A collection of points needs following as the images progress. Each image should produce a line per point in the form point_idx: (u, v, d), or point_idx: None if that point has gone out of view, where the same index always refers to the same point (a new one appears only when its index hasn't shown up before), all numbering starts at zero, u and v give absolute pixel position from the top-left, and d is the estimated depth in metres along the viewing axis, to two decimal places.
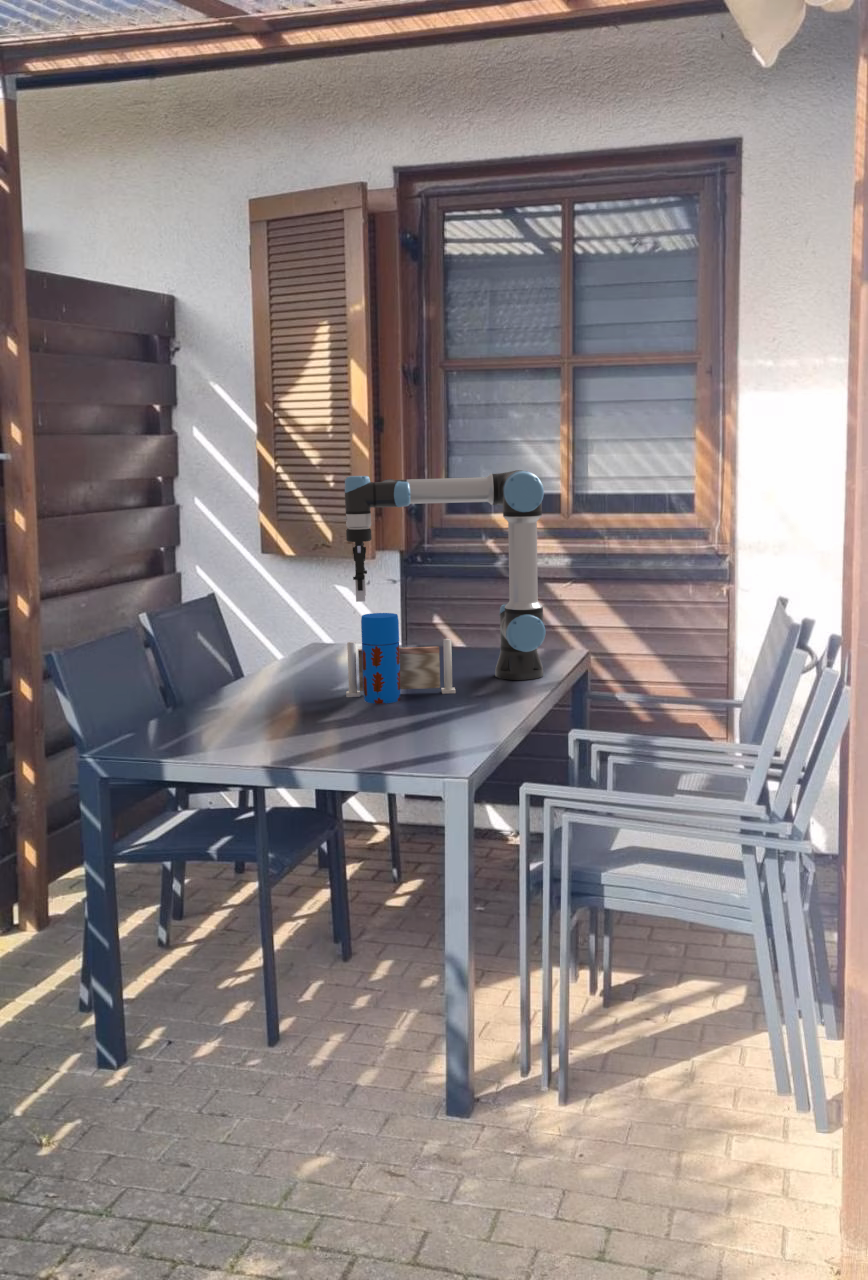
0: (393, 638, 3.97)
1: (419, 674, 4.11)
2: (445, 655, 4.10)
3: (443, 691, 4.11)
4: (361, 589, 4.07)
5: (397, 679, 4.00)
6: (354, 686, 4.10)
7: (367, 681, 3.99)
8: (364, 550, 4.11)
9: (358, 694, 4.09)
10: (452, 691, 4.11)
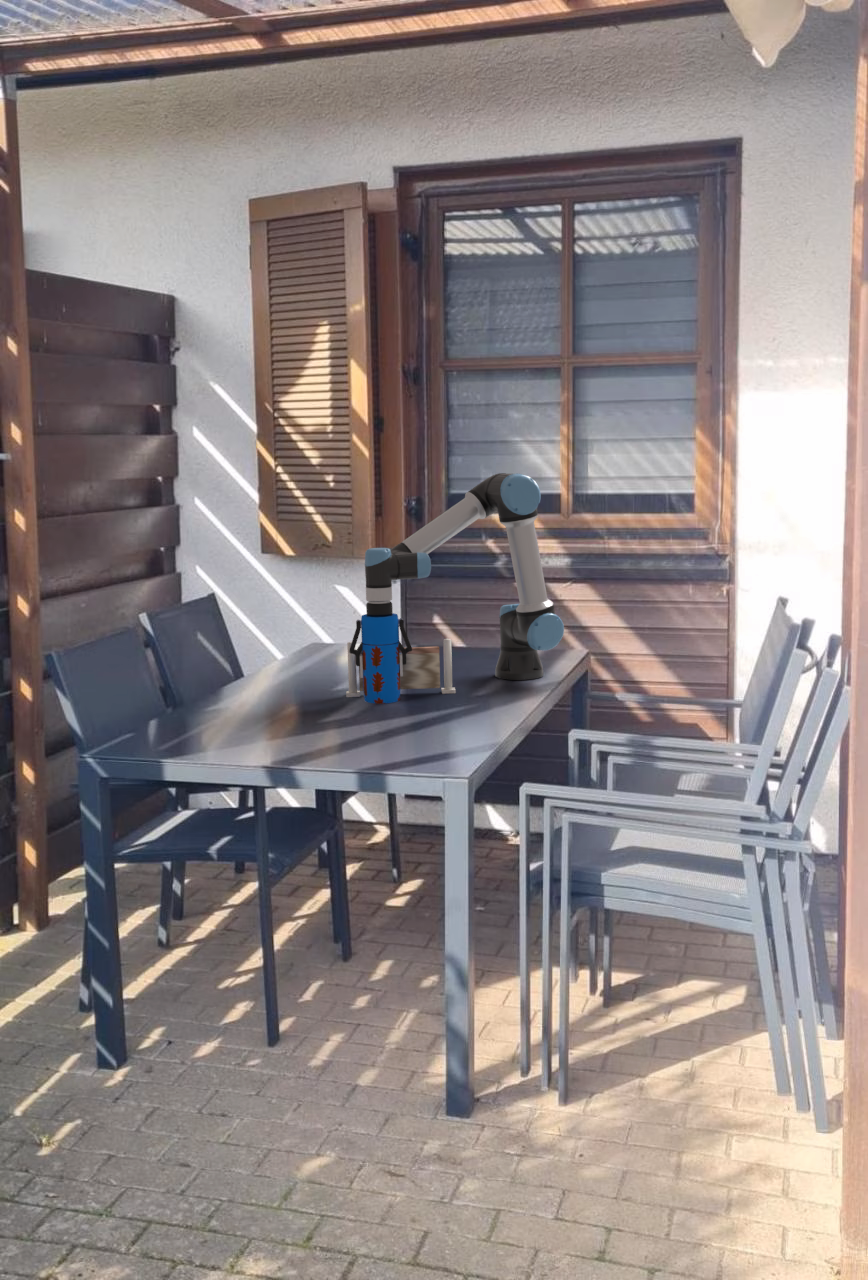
0: (393, 638, 3.97)
1: (419, 674, 4.11)
2: (445, 655, 4.10)
3: (443, 691, 4.11)
4: (356, 664, 4.01)
5: (397, 679, 4.00)
6: (354, 686, 4.10)
7: (367, 681, 3.99)
8: None
9: (358, 694, 4.09)
10: (452, 691, 4.11)
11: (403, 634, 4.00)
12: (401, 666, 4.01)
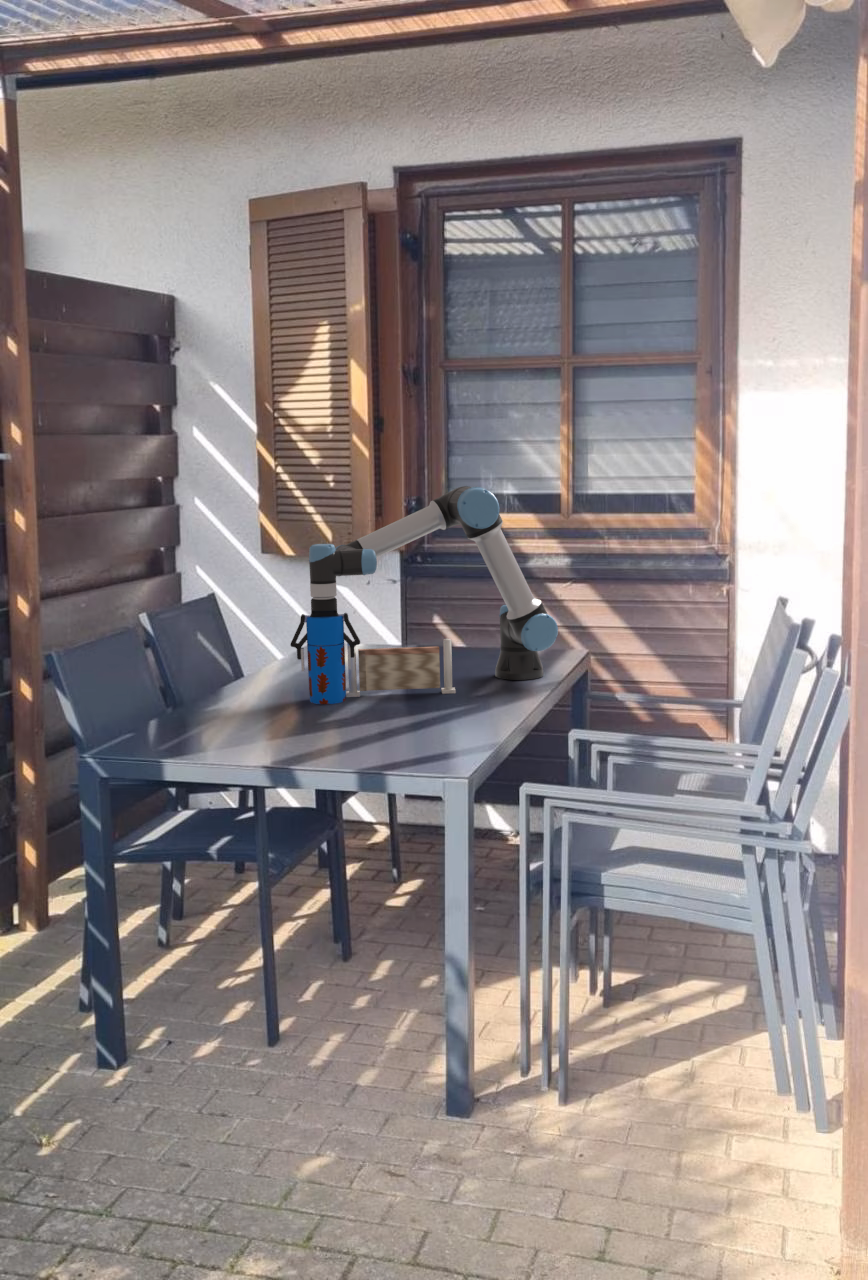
0: (338, 639, 3.98)
1: (419, 674, 4.11)
2: (445, 655, 4.10)
3: (443, 691, 4.11)
4: None
5: (342, 680, 4.01)
6: (354, 686, 4.10)
7: (312, 682, 4.00)
8: None
9: (358, 694, 4.09)
10: (452, 691, 4.11)
11: (349, 628, 4.01)
12: (349, 659, 4.02)
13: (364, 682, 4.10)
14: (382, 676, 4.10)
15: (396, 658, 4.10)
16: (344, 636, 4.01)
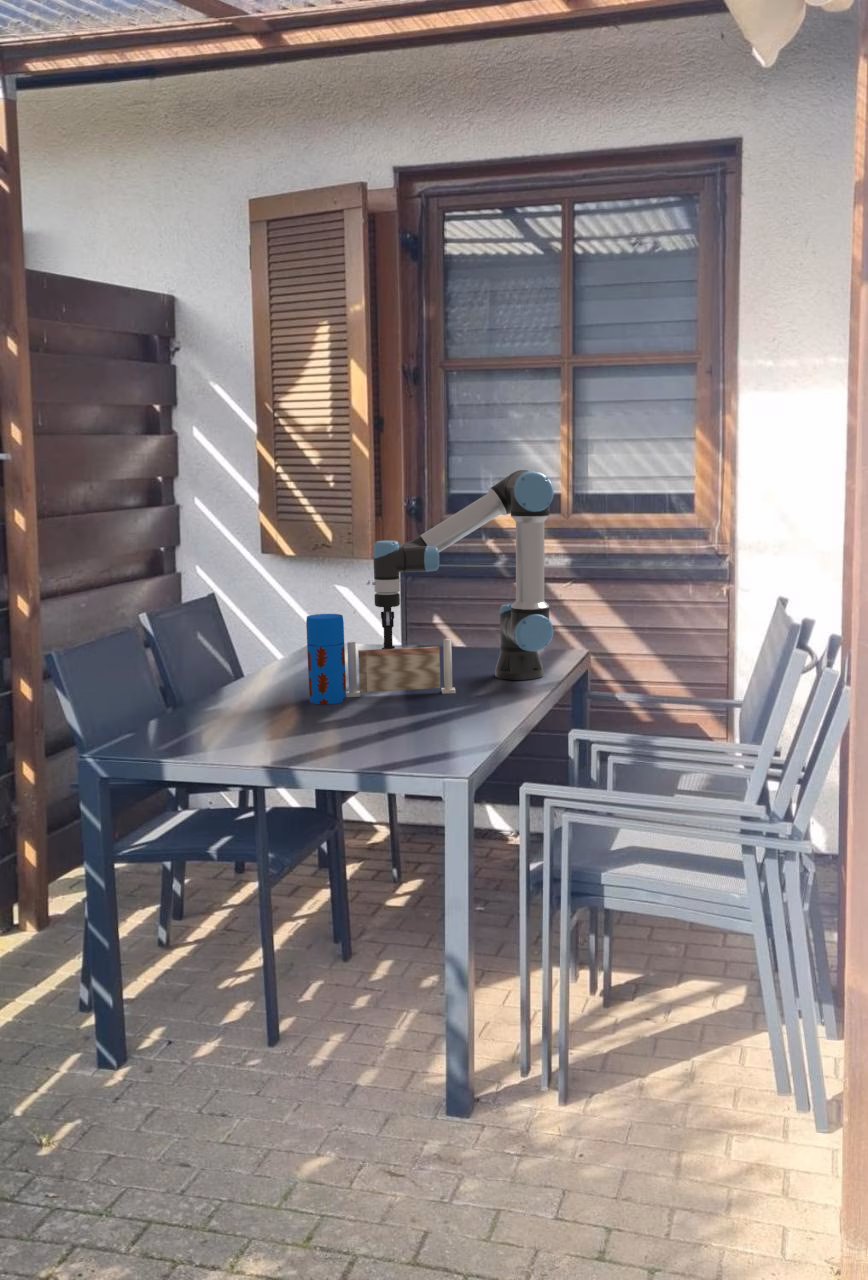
0: (338, 639, 3.98)
1: (419, 674, 4.10)
2: (445, 655, 4.10)
3: (443, 691, 4.11)
4: None
5: (342, 680, 4.01)
6: (354, 686, 4.10)
7: (312, 682, 4.00)
8: (392, 617, 4.09)
9: (358, 694, 4.09)
10: (452, 691, 4.11)
11: None
12: None
13: (365, 683, 4.08)
14: (383, 677, 4.09)
15: (396, 659, 4.08)
16: None
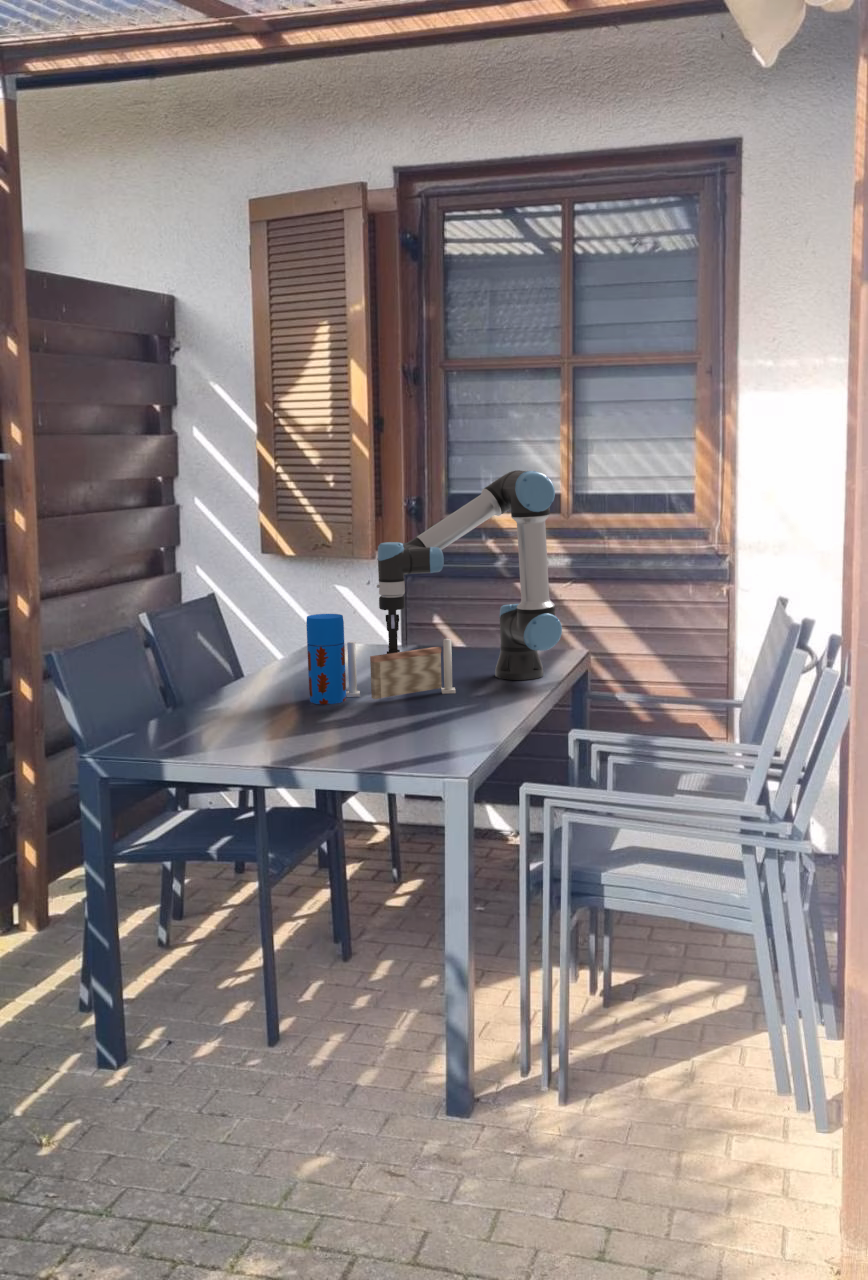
0: (338, 639, 3.98)
1: (424, 676, 4.08)
2: (445, 655, 4.10)
3: (443, 691, 4.11)
4: None
5: (342, 680, 4.01)
6: (354, 686, 4.10)
7: (312, 682, 4.00)
8: (397, 620, 4.02)
9: (358, 694, 4.09)
10: (452, 691, 4.11)
11: None
12: None
13: (379, 689, 3.98)
14: (393, 681, 4.01)
15: (405, 662, 4.03)
16: None
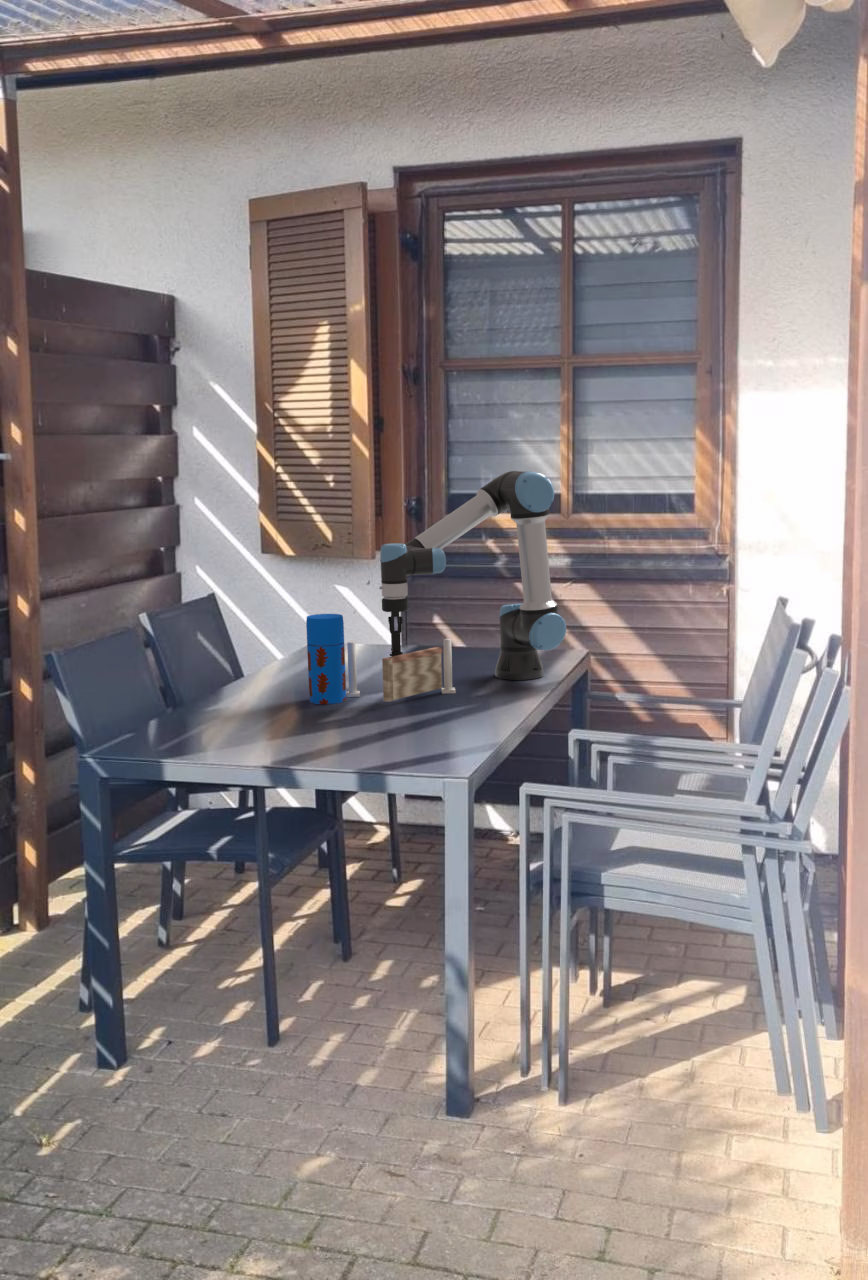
0: (338, 639, 3.98)
1: (428, 676, 4.07)
2: (445, 655, 4.10)
3: (443, 691, 4.11)
4: None
5: (342, 680, 4.01)
6: (354, 686, 4.10)
7: (312, 682, 4.00)
8: (400, 622, 3.98)
9: (358, 694, 4.09)
10: (452, 691, 4.11)
11: None
12: None
13: (392, 692, 3.94)
14: (403, 683, 3.98)
15: (412, 663, 4.01)
16: None
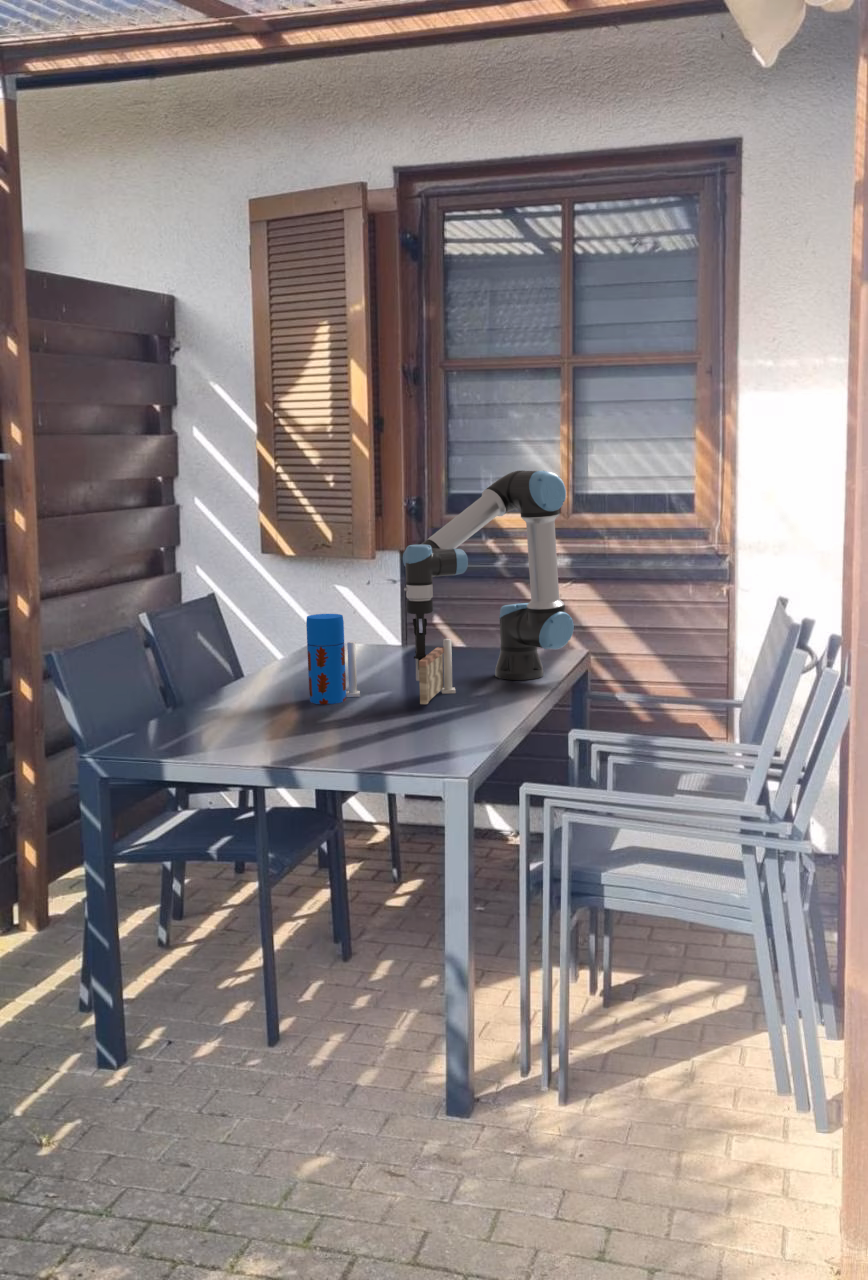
0: (338, 639, 3.98)
1: (438, 677, 4.05)
2: (445, 655, 4.10)
3: (443, 691, 4.11)
4: None
5: (342, 680, 4.01)
6: (354, 686, 4.10)
7: (312, 682, 4.00)
8: (425, 624, 3.93)
9: (358, 694, 4.09)
10: (452, 691, 4.11)
11: None
12: None
13: (427, 694, 3.90)
14: (430, 685, 3.95)
15: (433, 664, 3.98)
16: None
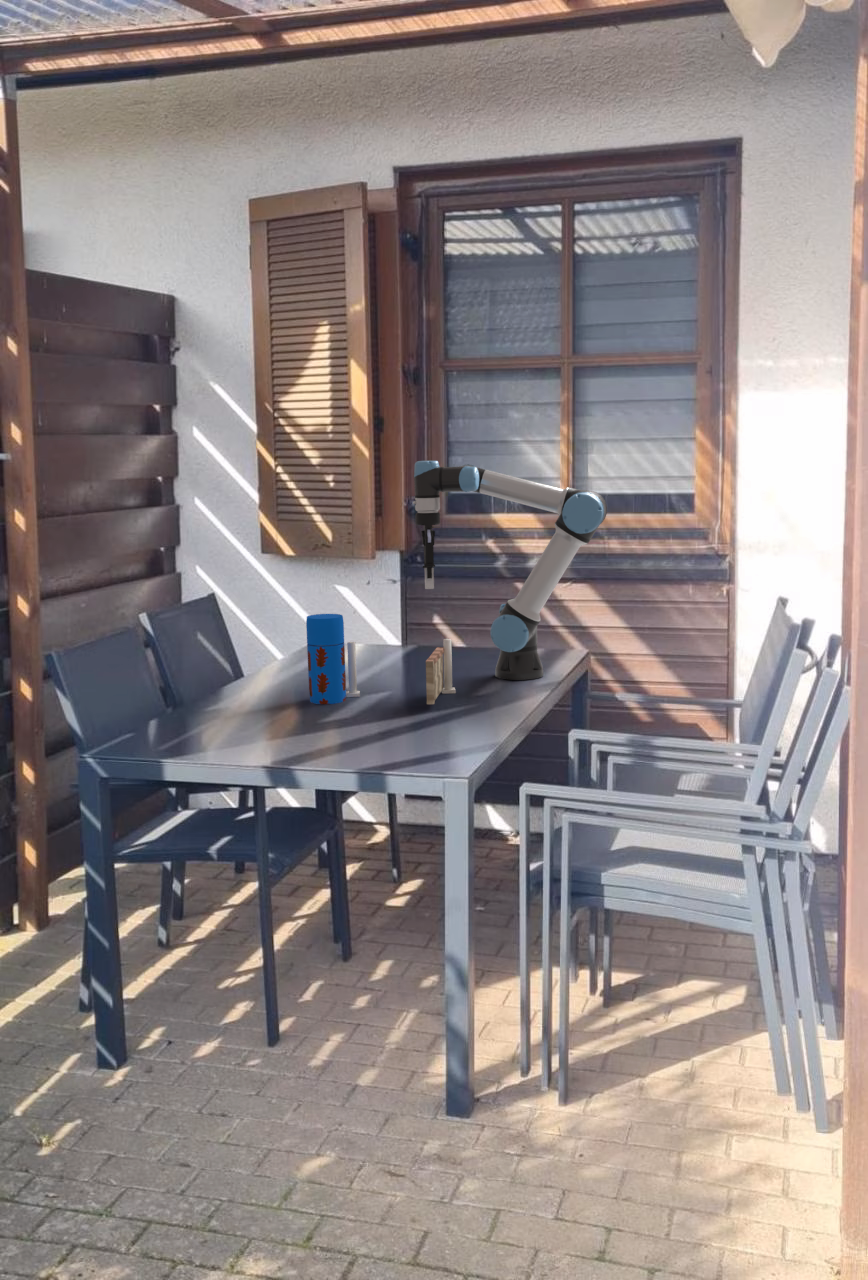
0: (338, 639, 3.98)
1: (440, 677, 4.05)
2: (445, 655, 4.10)
3: (443, 691, 4.11)
4: (430, 577, 4.21)
5: (342, 680, 4.01)
6: (354, 686, 4.10)
7: (312, 682, 4.00)
8: (433, 535, 4.19)
9: (358, 694, 4.09)
10: (452, 691, 4.11)
11: None
12: None
13: (434, 694, 3.89)
14: (435, 685, 3.95)
15: (436, 664, 3.98)
16: None
